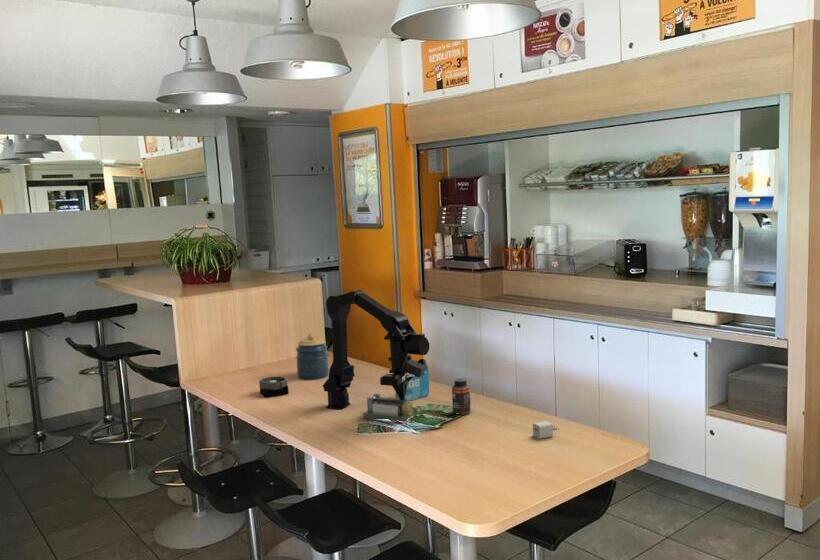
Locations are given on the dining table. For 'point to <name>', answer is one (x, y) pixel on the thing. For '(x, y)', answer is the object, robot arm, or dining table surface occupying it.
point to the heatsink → (388, 410)
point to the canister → (312, 358)
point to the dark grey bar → (389, 399)
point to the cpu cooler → (273, 386)
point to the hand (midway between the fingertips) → (402, 399)
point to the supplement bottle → (461, 397)
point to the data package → (417, 387)
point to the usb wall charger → (543, 429)
